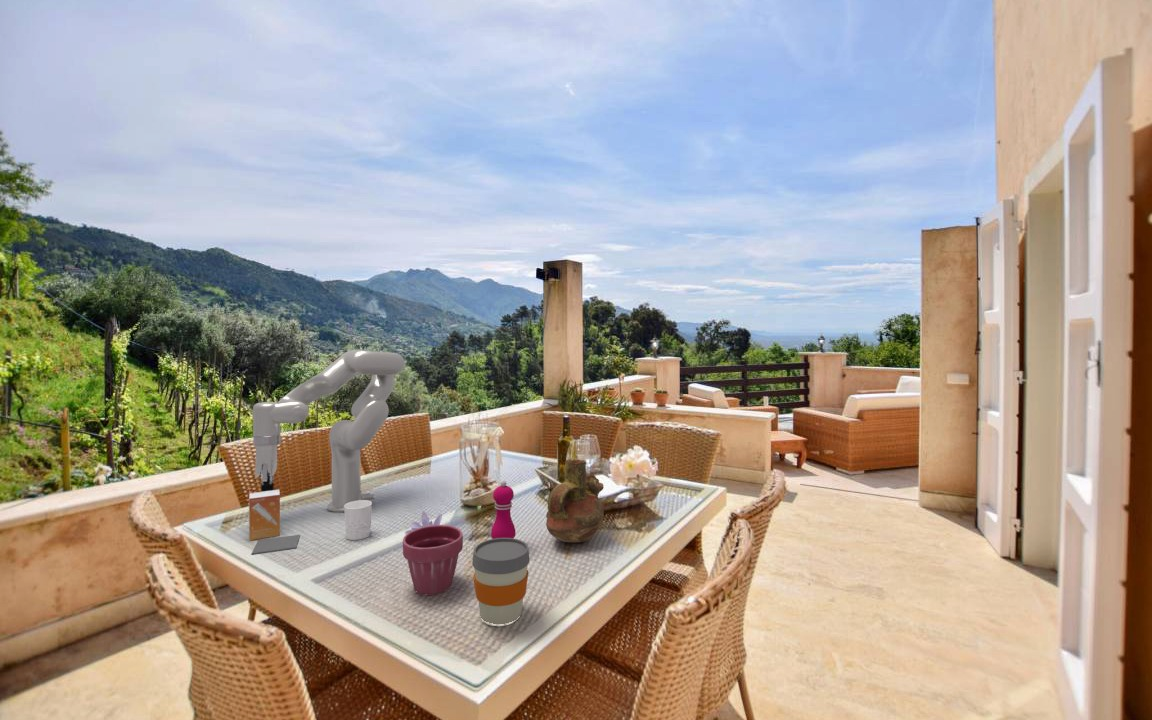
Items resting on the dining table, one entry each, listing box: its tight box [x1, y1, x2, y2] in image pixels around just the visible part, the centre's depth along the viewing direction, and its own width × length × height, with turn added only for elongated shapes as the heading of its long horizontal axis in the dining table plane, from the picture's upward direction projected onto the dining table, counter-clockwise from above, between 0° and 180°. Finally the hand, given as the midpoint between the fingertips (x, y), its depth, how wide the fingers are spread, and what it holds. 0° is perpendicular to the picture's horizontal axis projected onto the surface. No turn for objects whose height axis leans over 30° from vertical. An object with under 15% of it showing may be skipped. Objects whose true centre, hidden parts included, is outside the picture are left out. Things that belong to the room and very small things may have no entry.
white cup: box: [343, 500, 373, 541], centre depth 150 cm, size 8×8×10 cm
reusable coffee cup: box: [472, 538, 531, 624], centre depth 107 cm, size 13×13×15 cm
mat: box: [251, 534, 301, 555], centre depth 143 cm, size 11×10×1 cm
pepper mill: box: [490, 480, 517, 539], centre depth 142 cm, size 7×7×20 cm
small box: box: [248, 488, 281, 541], centre depth 150 cm, size 8×6×13 cm
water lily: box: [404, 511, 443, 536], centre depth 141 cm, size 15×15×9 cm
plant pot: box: [402, 524, 464, 596], centre depth 120 cm, size 14×14×13 cm
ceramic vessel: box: [545, 458, 605, 543], centre depth 150 cm, size 17×26×25 cm, turn 145°
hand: (267, 495), depth 158 cm, fingers closed
